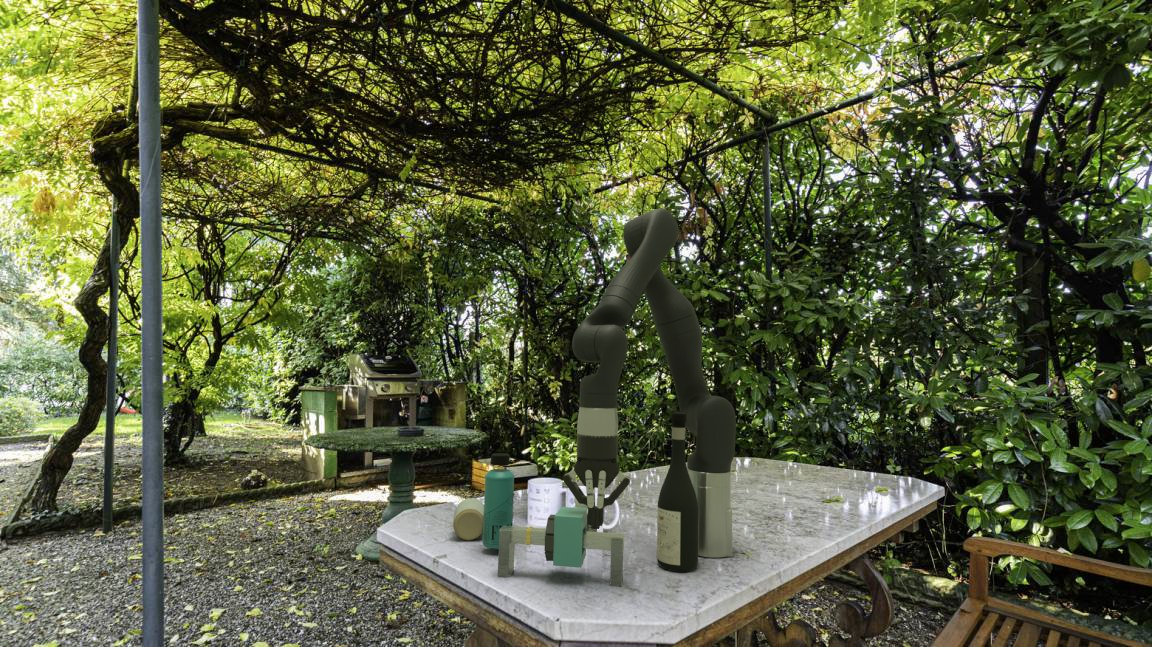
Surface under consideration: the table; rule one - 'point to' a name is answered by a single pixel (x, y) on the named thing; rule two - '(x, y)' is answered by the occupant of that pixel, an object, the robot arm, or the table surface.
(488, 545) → the beverage bottle
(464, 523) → the beige cylinder
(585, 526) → the sleeve
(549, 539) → the o ring
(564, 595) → the table surface
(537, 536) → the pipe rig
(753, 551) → the table surface
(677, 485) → the wine bottle
